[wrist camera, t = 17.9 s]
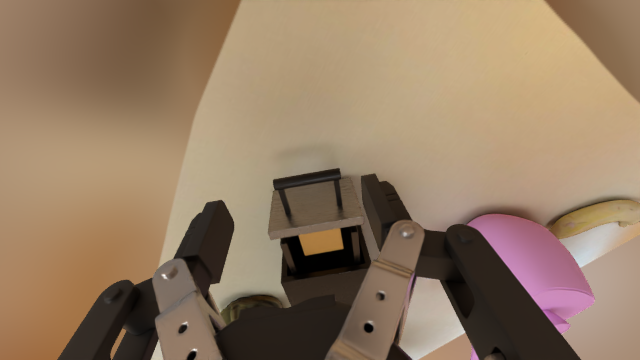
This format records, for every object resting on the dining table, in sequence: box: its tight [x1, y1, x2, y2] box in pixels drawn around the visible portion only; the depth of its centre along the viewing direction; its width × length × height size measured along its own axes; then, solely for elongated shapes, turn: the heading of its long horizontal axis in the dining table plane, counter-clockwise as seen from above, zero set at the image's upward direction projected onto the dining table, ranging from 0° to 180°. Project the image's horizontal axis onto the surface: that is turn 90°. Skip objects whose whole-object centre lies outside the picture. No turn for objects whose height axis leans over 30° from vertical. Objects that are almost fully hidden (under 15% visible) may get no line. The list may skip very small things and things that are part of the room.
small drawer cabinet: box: [281, 225, 371, 306], centre depth 37 cm, size 15×12×9 cm
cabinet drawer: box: [268, 168, 364, 276], centre depth 31 cm, size 18×10×7 cm, turn 9°
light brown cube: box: [298, 228, 344, 256], centre depth 31 cm, size 5×5×5 cm
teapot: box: [467, 214, 595, 360], centre depth 38 cm, size 23×21×15 cm
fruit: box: [549, 200, 640, 239], centre depth 40 cm, size 7×15×3 cm, turn 92°
